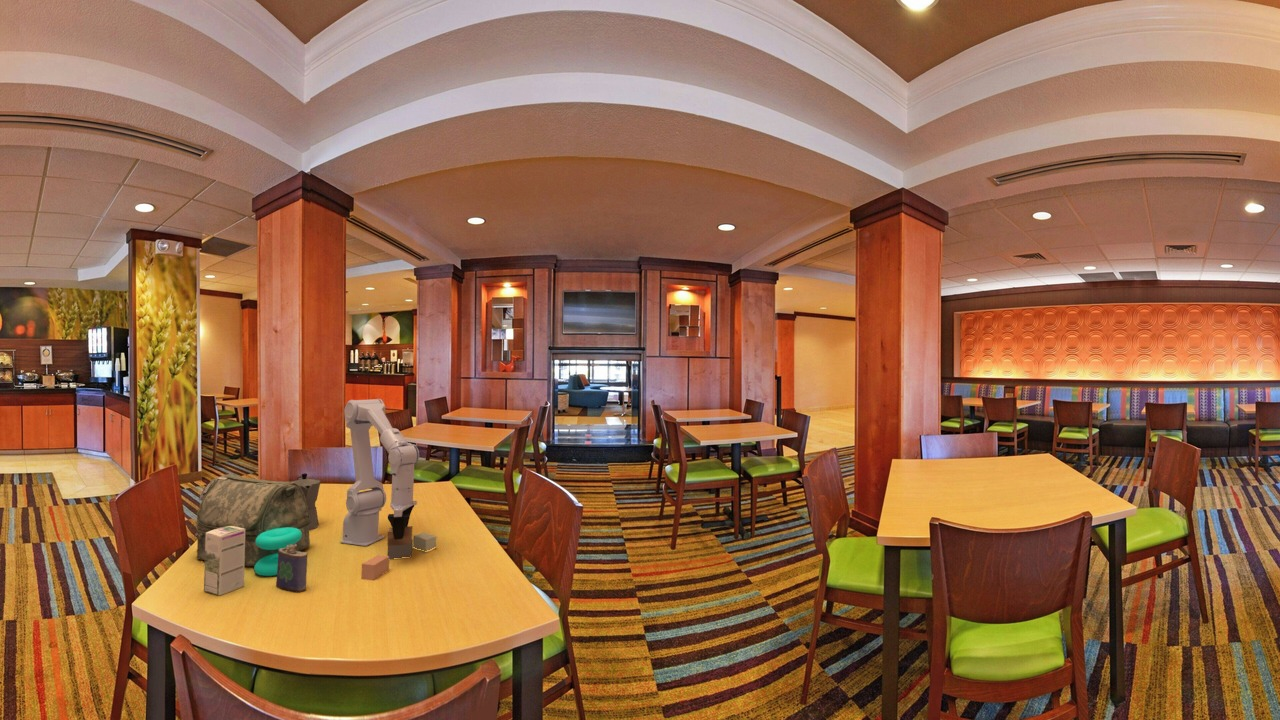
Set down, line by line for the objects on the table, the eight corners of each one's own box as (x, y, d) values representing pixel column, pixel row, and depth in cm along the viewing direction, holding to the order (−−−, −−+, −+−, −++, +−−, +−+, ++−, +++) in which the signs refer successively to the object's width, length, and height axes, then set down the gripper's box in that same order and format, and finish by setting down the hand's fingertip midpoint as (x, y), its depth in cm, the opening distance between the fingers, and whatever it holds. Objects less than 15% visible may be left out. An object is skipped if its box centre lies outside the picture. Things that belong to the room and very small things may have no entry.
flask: (308, 589, 119) (310, 545, 119) (296, 594, 117) (298, 549, 117) (284, 581, 123) (285, 539, 123) (271, 586, 120) (273, 543, 120)
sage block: (435, 549, 147) (436, 536, 147) (425, 553, 144) (426, 539, 144) (423, 545, 150) (423, 532, 150) (412, 548, 147) (413, 535, 147)
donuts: (285, 523, 136) (310, 529, 132) (284, 559, 136) (309, 565, 132) (246, 535, 126) (272, 541, 123) (244, 573, 126) (271, 580, 123)
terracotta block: (373, 580, 125) (374, 565, 125) (361, 579, 126) (361, 563, 126) (388, 571, 131) (389, 556, 131) (376, 569, 132) (377, 555, 132)
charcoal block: (387, 559, 138) (387, 545, 138) (389, 554, 142) (390, 541, 142) (410, 557, 140) (410, 544, 140) (412, 553, 143) (412, 539, 143)
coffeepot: (323, 530, 159) (325, 475, 159) (288, 536, 152) (290, 479, 152) (313, 518, 170) (315, 466, 170) (280, 523, 163) (282, 470, 163)
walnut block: (387, 545, 138) (387, 531, 138) (389, 541, 141) (389, 527, 141) (410, 544, 140) (411, 530, 140) (411, 539, 143) (412, 526, 143)
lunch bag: (180, 560, 133) (184, 480, 133) (247, 537, 150) (250, 467, 150) (257, 573, 127) (261, 489, 127) (317, 547, 145) (320, 474, 145)
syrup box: (245, 586, 120) (247, 527, 120) (217, 596, 114) (220, 535, 114) (229, 582, 121) (232, 524, 122) (201, 592, 116) (204, 531, 116)
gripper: (414, 493, 135) (412, 542, 135) (420, 480, 149) (418, 524, 149) (386, 494, 133) (384, 544, 133) (395, 481, 147) (393, 526, 147)
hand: (400, 534), depth 141 cm, fingers open, 7 cm apart
